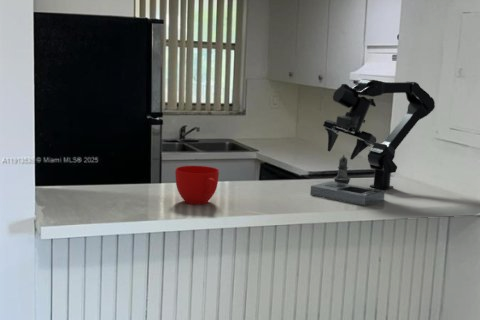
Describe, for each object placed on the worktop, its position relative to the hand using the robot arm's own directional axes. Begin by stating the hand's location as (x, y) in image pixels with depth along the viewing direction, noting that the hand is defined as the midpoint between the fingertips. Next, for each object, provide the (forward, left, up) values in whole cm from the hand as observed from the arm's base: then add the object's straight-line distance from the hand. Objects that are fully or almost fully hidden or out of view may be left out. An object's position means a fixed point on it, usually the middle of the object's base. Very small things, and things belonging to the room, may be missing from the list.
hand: (339, 155), depth 206 cm
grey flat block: (+8, +8, -12) cm, 17 cm away
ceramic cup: (+52, -17, -12) cm, 56 cm away
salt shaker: (-4, -1, -12) cm, 13 cm away
